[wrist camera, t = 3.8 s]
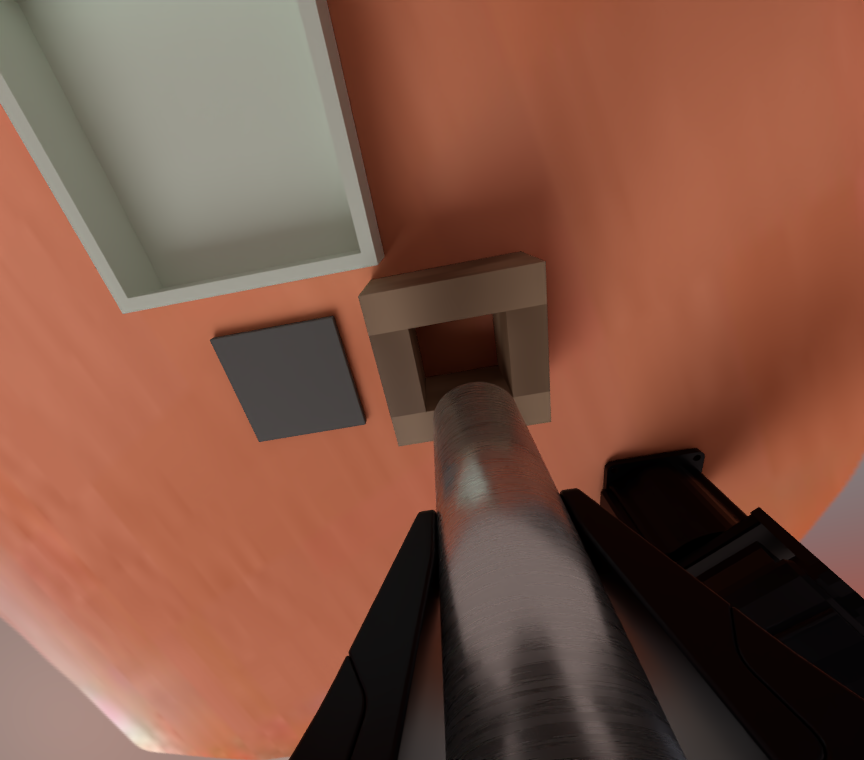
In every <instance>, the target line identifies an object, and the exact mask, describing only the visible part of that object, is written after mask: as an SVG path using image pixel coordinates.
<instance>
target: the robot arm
mask: <svg viewBox="0 0 864 760" xmlns="http://www.w3.org/2000/svg"><path fill="white" fill-rule="evenodd" d="M704 458H705V454H704V453H703V452H702V451H700V450H699V449H697V448H694V449H687V450H681V451H674V452H668V453H661V454H655V455H648V456H642V457H635V458H629V459H622V460H616V461H611V462H608V463H607V464H606V465H605V468H604V486H603V489H602V491H601V498H600V505H599V504H598V503H597V502H595V501H594V500H593V499H591V498H590V497H589V496H587V495H586V494H585V493H583V492H582V491H581V490H579V489H577V488H574V489H567V490H562V491H561V492H560V496H561V498H562V500H563V503H564V505H565V507H566V509H567V511H568V513H569V515H570V517H571V519H572V521H573V523H574V526H575V528H576V530H577V532H578V534H579V536H580V538H581V540H582V542H583V544H584V546H585V549H586V551H587V553H588V555H589V557H590V559H591V561H592V563H593V565H594V567H595V569H596V571H597V574H598V576H599V578H600V580H601V582H602V584H603V586H604V588H605V590H606V592H607V594H608V597H609V599H610V601H611V603H612V605H613V607H614V609H615V611H616V613H617V615H618V617H619V619H620V622H621V624H622V626H623V628H624V630H625V632H626V634H627V636H628V638H629V640H630V642H631V645H632V647H633V649H634V651H635V653H636V655H637V657H638V659H639V661H640V663H641V665H642V668H643V670H644V672H645V674H646V676H647V678H648V680H649V682H650V684H651V686H652V688H653V690H654V693H655V695H656V697H657V699H658V701H659V703H660V705H661V707H662V709H663V711H664V713H665V716H666V718H667V720H668V722H669V724H670V726H671V728H672V730H673V732H674V734H675V736H676V739H677V741H678V743H679V745H680V747H681V749H682V751H683V753H684V755H685V757H686V759H687V760H864V599H863V598H862V597H861V596H860V595H859V594H858V593H856V592H855V591H854V590H853V589H852V588H851V587H850V586H849V585H847V584H846V583H845V582H844V581H843V580H842V579H841V578H839V577H838V576H837V575H836V574H835V573H834V572H833V571H831V570H830V569H829V568H828V567H827V566H826V565H825V564H824V563H822V562H821V561H820V560H819V559H818V558H817V557H816V556H814V555H813V554H812V553H811V552H810V551H809V550H808V549H806V548H805V547H804V546H803V545H802V544H801V543H800V542H798V541H797V540H796V539H795V538H794V537H793V536H792V535H790V534H789V533H788V532H787V531H786V530H785V529H784V528H782V527H781V526H780V525H779V524H778V523H777V522H776V521H774V520H773V519H772V518H771V517H770V516H769V515H768V514H766V513H765V512H764V511H763V510H762V509H761V508H760V507H758V508H757V509H755V510H753V511H752V512H750V513H751V515H749V516H747V515H746V514H745V513H744V512H743V511H742V510H740V509H739V508H738V507H737V506H736V505H735V504H734V503H733V502H732V501H731V500H730V499H729V498H728V497H727V496H726V495H725V494H723V493H722V492H721V491H720V490H719V489H718V488H717V487H716V486H715V485H714V484H713V483H712V482H711V481H710V480H709V479H707V478H706V477H705V476H704V475H703V474H702V468H703V463H704ZM613 468H614V469H613ZM611 469H612V470H611ZM289 760H446V751H445V725H444V699H443V673H442V647H441V621H440V594H439V566H438V539H437V514H436V512H435V511H434V510H428V511H421V512H419V513H418V515H417V516H416V518H415V520H414V522H413V524H412V526H411V528H410V530H409V532H408V534H407V536H406V538H405V540H404V542H403V544H402V546H401V548H400V550H399V552H398V554H397V556H396V558H395V560H394V562H393V564H392V566H391V568H390V570H389V572H388V574H387V576H386V578H385V580H384V582H383V584H382V586H381V588H380V590H379V592H378V594H377V596H376V598H375V600H374V602H373V604H372V606H371V608H370V610H369V612H368V614H367V616H366V618H365V620H364V622H363V624H362V626H361V628H360V630H359V632H358V634H357V636H356V638H355V640H354V642H353V644H352V646H351V648H350V650H349V656H346V658H345V660H344V662H343V664H342V666H341V668H340V670H339V672H338V674H337V676H336V678H335V680H334V681H333V683H332V685H331V687H330V689H329V691H328V693H327V695H326V696H325V698H324V700H323V702H322V704H321V706H320V708H319V710H318V711H317V713H316V715H315V716H314V718H313V720H312V722H311V723H310V725H309V727H308V728H307V730H306V732H305V733H304V735H303V737H302V739H301V740H300V742H299V744H298V745H297V747H296V749H295V750H294V752H293V754H292V755H291V757H290V759H289Z"/></svg>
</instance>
